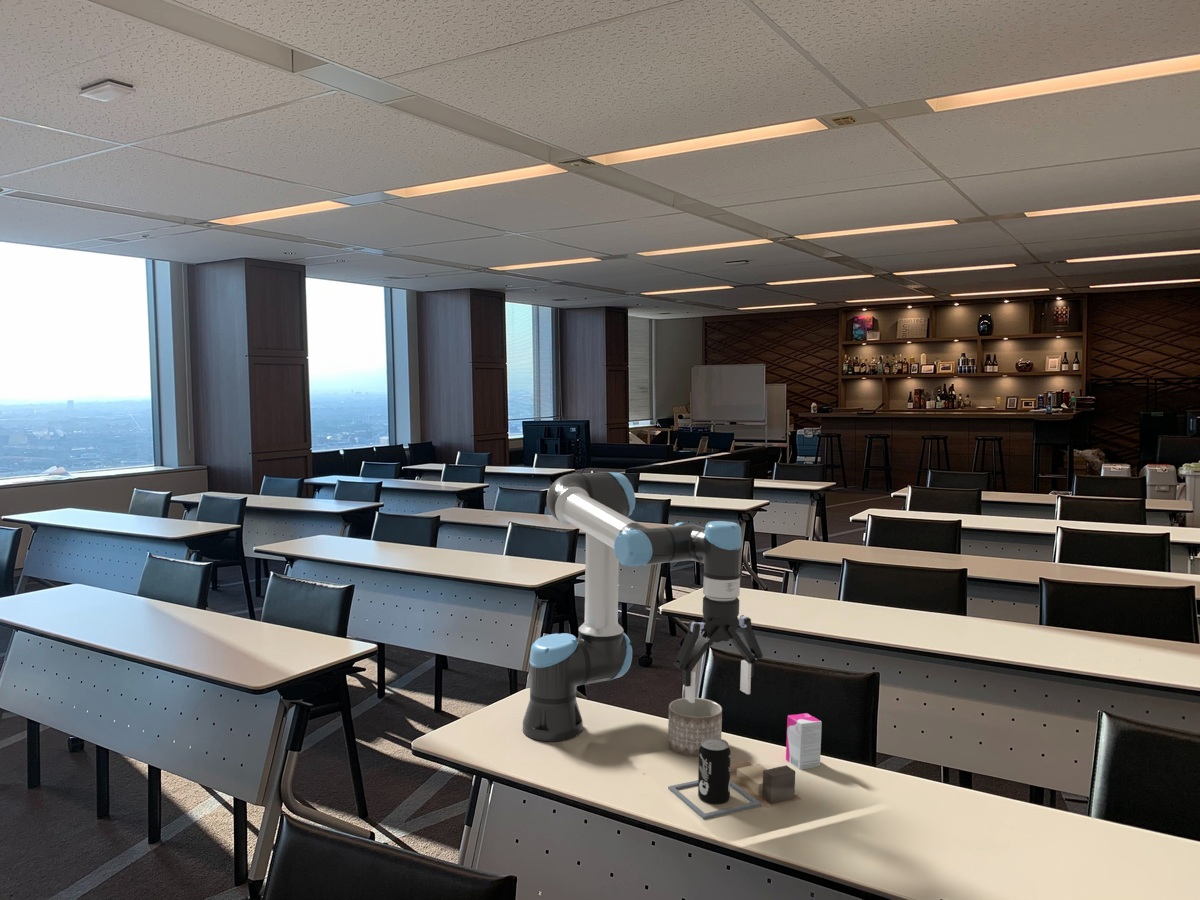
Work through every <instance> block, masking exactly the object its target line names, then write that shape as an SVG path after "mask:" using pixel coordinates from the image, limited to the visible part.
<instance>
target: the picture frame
mask: <svg viewBox="0 0 1200 900" xmlns="http://www.w3.org/2000/svg"><path fill="white" fill-rule="evenodd" d="M695 786H698V779H696V780H692V781H688V782H682V783H679V784H674V785H668V786H667V787H668V788H667V789H668V790H669V791H670V792H671V793H672V794H674V795H675V796H676V797H677V798H678V799H679V800H680V801H681V802H683V803H684V804H685V805H686V806H687V807H688V808H689V809H691V810H692V811H693V813H695V814H697V816H699V817H700V819H701V818H702V820H706V819H711V818H714V817H718V816H719V817H720V816H724V815H728V814H731V813H736V812H741V811H747V810H749V809H753V808H758V807H761V806H762V803H761V802H759V801H758V800H757V799H755V798H754V797H753V796H751V795H750V794H749V793H747V792H746V791H745V790H743V789H742V788H741V787H739V786H738V785H737V784H735V783H734V782H733V781H731V780H730V788H732V789H734V791H736V792H738V793H739V794H740V795H741V796H742V797H744V798H745V799H747V800H748V801H749V802H748V803H745V804H740V805H735V806H732V807H727V808H722V809H719V810H714V811H710V812H706V813H705V812H704V811H703V810H702V809H701V808H699V807H698V806H697V805H696V804H695V803H693V801H691V800H690V799H689V798H687V797H686V796H685V795H684V794H683V793H682V792H681V791H680V790H682V789H686V788H687V789H688V788H690V787H695Z"/></svg>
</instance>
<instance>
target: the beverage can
mask: <svg viewBox="0 0 1200 900" xmlns="http://www.w3.org/2000/svg"><path fill="white" fill-rule="evenodd" d="M731 752H732V750H731V749H730V746H729V743H728V741H727V740H726V739H722V738H721V739H719V738H707V739H704V740H702V741H701V746H700V747H699V756H698V772H697V773H698V774H697V775H698V776H697V777H698V778H697V780H698V785H697V786H698V787H697V796H698V798H699V799H700V800H701V801H703V802H705V803H706V804H710V805H712V804H713V805H721V804H724V803H727V801H729V800H730V796H731V786H730V764H731V754H732V753H731Z"/></svg>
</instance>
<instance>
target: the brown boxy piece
mask: <svg viewBox="0 0 1200 900" xmlns="http://www.w3.org/2000/svg"><path fill="white" fill-rule="evenodd" d="M751 765H753V764H752V763H750V762H749V761H748V760H742V761H737V762H732V763H731V762H730V780H731V781H733V782H734V783H735V784H737V785H738V786H739V787H741V788H742V789H743V790H745V791H746V792H747V793H749V794H750V795H751V796H753V797H754V798H755V799H757V800H758V801H759V802H761V803H762V805H763V807H765V808H770V807H774V806H778V805H783V804H786V803H791V802H792V803H793V802H795V801H799V800H802V798H801V797H800V796H798V795H797V794H795V791H796V770H794V769H793V768H791V767H790V766H788V765H782V766H777V767H772V768H766V769H767V770H763V789H762V795H759V796H758V795H757V794H755V793H754V792H753V791H751V790H750V789H749V788H747V787H746V786H744V785H743V784H742V783H740V782H739V781H738V780H737V768H742V767H747V766H751Z"/></svg>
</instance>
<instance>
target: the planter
mask: <svg viewBox="0 0 1200 900" xmlns="http://www.w3.org/2000/svg"><path fill="white" fill-rule="evenodd" d="M722 717H723V707H722V706H721V705H720V704H719V703H717V702H716V701H714V700H711V699H707V698H701V697H695V703H691V702H689V701H688V700H686V699H685V697H683V698H682V697H681V698H677V699H675V700H673V701H671V702H669V704H668V727H667V728H668V729H667V730H668V733H667V735H668V736H667V737H668V738H667V744H668V747H669V748H670V749H671V750H672V751H674V752H675V753H678V754H680V755H684V756H690V757H699V747H700V746H701V741H702V740H704V739H707V738H719V739H722V729H723V728H722V725H723V723H722V722H723V718H722Z"/></svg>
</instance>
